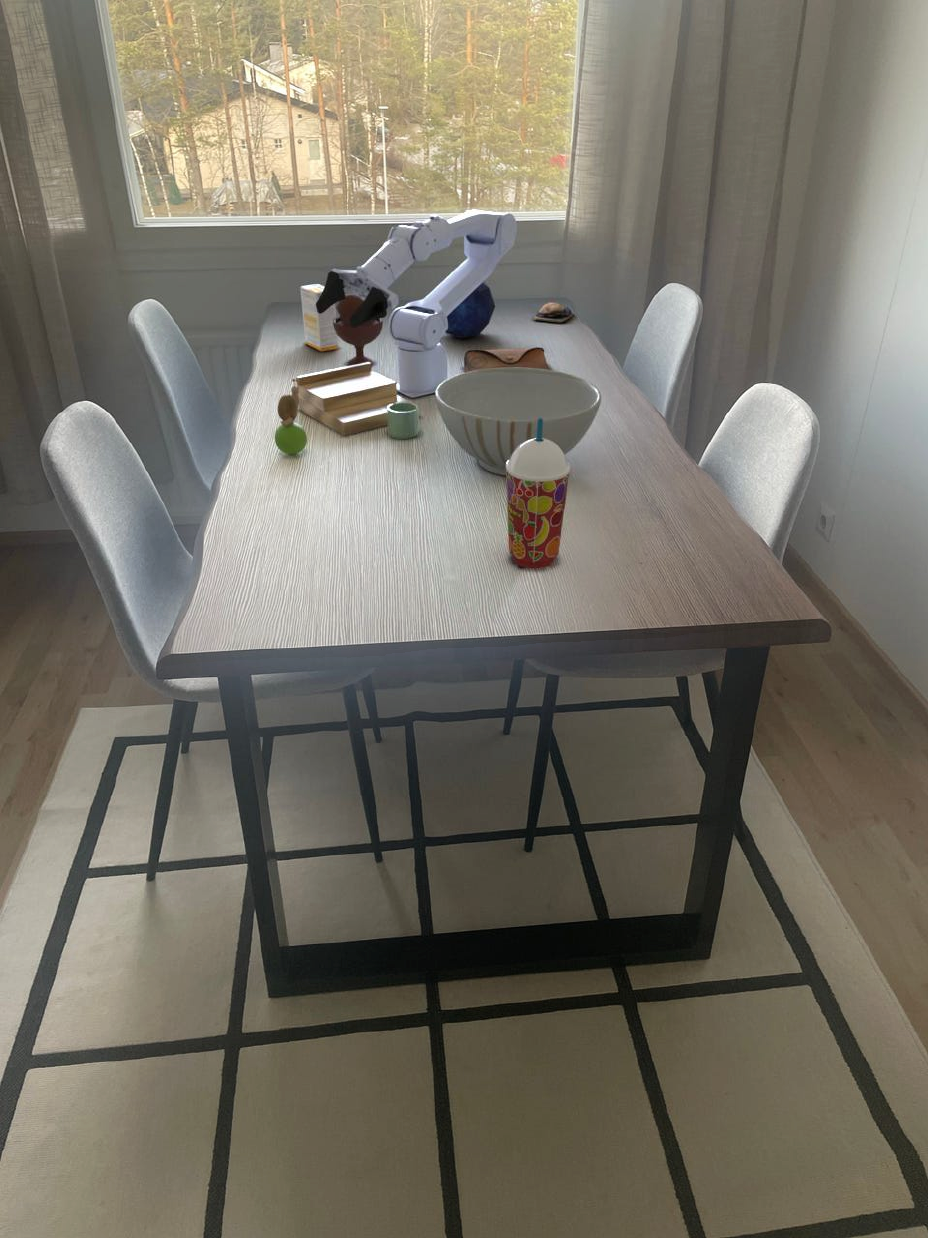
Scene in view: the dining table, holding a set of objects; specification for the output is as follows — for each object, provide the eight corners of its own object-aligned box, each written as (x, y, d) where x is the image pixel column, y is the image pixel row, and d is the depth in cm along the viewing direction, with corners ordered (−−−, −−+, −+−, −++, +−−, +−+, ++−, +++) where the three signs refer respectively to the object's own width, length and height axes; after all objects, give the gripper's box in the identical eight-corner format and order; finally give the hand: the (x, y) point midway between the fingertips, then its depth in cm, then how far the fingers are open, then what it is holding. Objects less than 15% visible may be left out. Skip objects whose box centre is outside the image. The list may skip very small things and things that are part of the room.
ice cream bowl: (378, 372, 197) (374, 300, 189) (328, 369, 199) (322, 297, 191) (391, 358, 205) (388, 288, 197) (343, 355, 207) (338, 286, 199)
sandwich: (562, 324, 231) (563, 309, 229) (530, 320, 234) (531, 305, 232) (575, 314, 239) (576, 299, 237) (544, 311, 242) (545, 296, 240)
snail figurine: (316, 447, 160) (310, 379, 154) (299, 461, 155) (292, 391, 149) (288, 443, 162) (281, 376, 156) (270, 456, 157) (262, 387, 150)
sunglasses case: (470, 376, 193) (467, 344, 193) (465, 384, 200) (462, 353, 200) (553, 372, 196) (551, 340, 195) (545, 380, 203) (543, 349, 202)
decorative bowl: (483, 507, 140) (484, 432, 134) (410, 448, 160) (408, 380, 154) (627, 475, 151) (635, 404, 144) (541, 424, 171) (545, 359, 164)
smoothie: (499, 546, 129) (503, 408, 119) (558, 544, 130) (567, 406, 119) (506, 575, 122) (511, 431, 112) (568, 573, 123) (579, 430, 112)
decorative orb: (516, 311, 220) (484, 254, 217) (483, 325, 209) (450, 265, 207) (475, 341, 229) (444, 286, 227) (442, 355, 219) (409, 298, 216)
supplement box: (339, 348, 212) (335, 289, 205) (320, 352, 209) (315, 292, 202) (323, 340, 217) (318, 282, 211) (304, 343, 215) (299, 285, 208)
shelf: (418, 417, 173) (417, 383, 170) (344, 435, 165) (342, 400, 162) (370, 393, 185) (368, 361, 181) (299, 409, 177) (296, 376, 173)
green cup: (407, 426, 169) (406, 400, 167) (424, 435, 166) (424, 408, 163) (382, 432, 167) (381, 406, 164) (399, 442, 163) (398, 414, 160)
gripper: (345, 239, 167) (298, 283, 162) (410, 265, 162) (363, 311, 157) (352, 272, 173) (306, 315, 168) (414, 298, 168) (369, 343, 163)
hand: (334, 316), depth 162 cm, fingers open, 7 cm apart
